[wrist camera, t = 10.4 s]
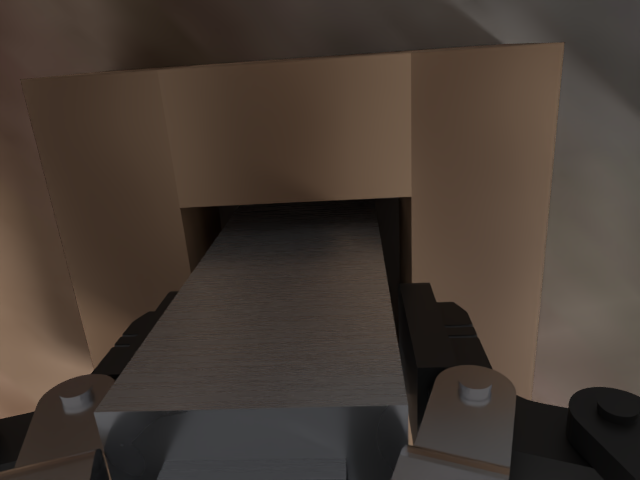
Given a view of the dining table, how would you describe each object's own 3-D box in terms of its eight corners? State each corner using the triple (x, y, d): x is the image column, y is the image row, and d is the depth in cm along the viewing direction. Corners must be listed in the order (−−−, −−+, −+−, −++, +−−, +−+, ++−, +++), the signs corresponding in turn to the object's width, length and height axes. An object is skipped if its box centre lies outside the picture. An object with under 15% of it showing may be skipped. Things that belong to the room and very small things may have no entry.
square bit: (372, 192, 16) (432, 555, 4) (377, 309, 17) (430, 812, 6) (243, 199, 16) (-8, 555, 5) (257, 313, 17) (89, 800, 6)
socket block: (504, 43, 15) (564, 42, 11) (485, 388, 19) (524, 483, 15) (107, 71, 16) (20, 79, 12) (171, 394, 20) (123, 486, 16)
